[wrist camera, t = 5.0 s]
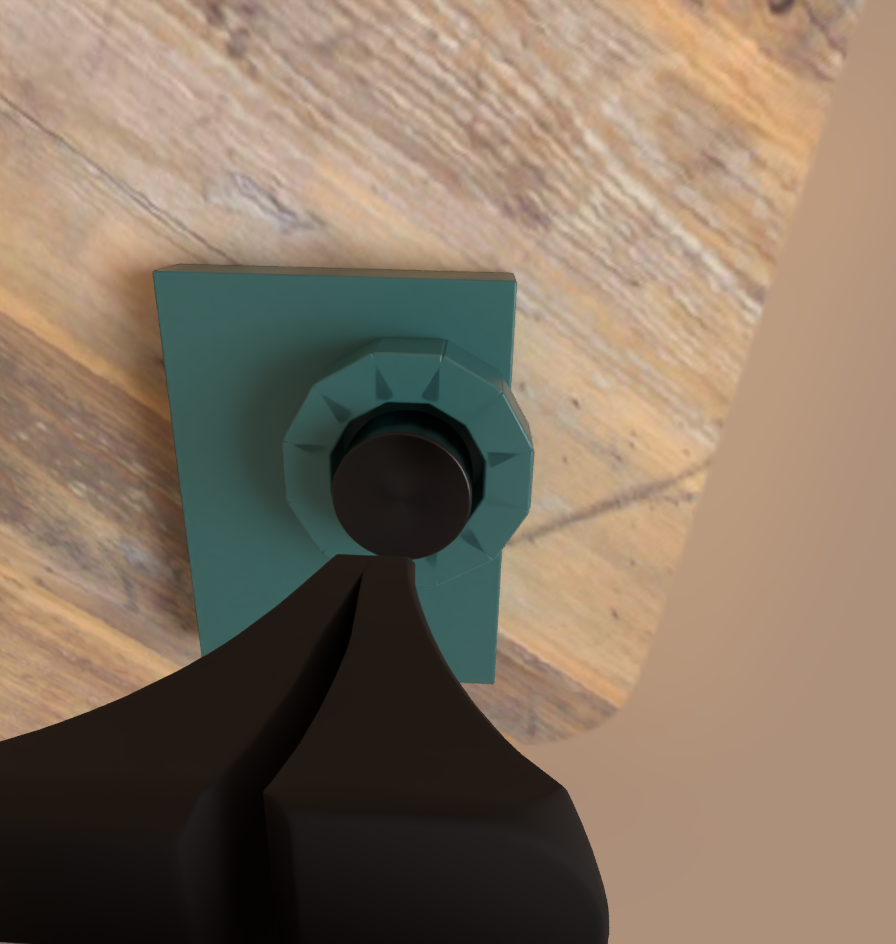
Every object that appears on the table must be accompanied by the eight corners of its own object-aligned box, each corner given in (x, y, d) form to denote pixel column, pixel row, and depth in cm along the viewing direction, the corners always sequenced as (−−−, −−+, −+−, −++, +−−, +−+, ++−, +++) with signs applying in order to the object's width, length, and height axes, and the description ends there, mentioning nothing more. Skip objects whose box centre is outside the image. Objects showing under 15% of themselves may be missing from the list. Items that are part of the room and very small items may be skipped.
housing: (510, 652, 23) (514, 727, 20) (221, 639, 24) (180, 711, 20) (535, 273, 19) (546, 291, 16) (178, 263, 19) (116, 279, 16)
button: (470, 530, 18) (469, 564, 17) (346, 525, 19) (333, 558, 17) (475, 411, 17) (474, 435, 16) (342, 406, 17) (328, 429, 16)
